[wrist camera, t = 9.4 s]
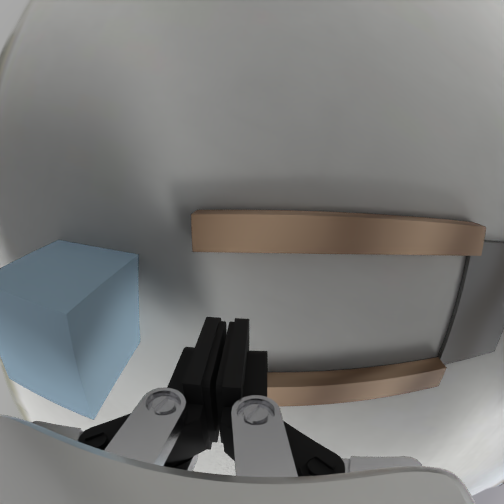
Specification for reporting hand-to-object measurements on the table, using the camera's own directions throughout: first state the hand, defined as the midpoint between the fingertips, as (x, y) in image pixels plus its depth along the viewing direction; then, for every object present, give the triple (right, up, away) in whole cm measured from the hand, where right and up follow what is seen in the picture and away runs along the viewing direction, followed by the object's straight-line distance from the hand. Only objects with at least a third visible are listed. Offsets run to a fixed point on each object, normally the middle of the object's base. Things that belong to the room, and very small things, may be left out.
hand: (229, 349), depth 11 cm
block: (-7, +2, +2) cm, 8 cm away
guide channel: (+9, +1, +2) cm, 9 cm away
